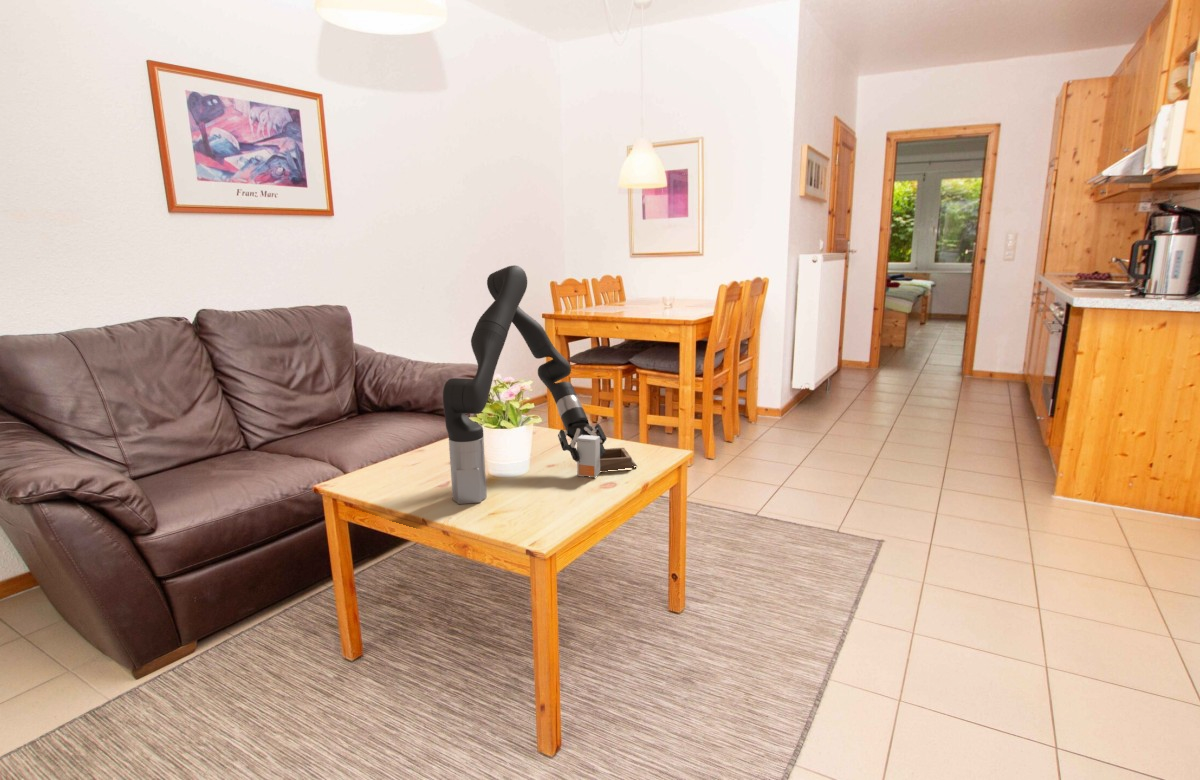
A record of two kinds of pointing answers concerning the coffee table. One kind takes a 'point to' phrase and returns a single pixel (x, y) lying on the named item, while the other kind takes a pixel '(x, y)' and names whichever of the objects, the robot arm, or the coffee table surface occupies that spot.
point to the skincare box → (588, 455)
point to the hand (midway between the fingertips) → (590, 458)
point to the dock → (616, 459)
